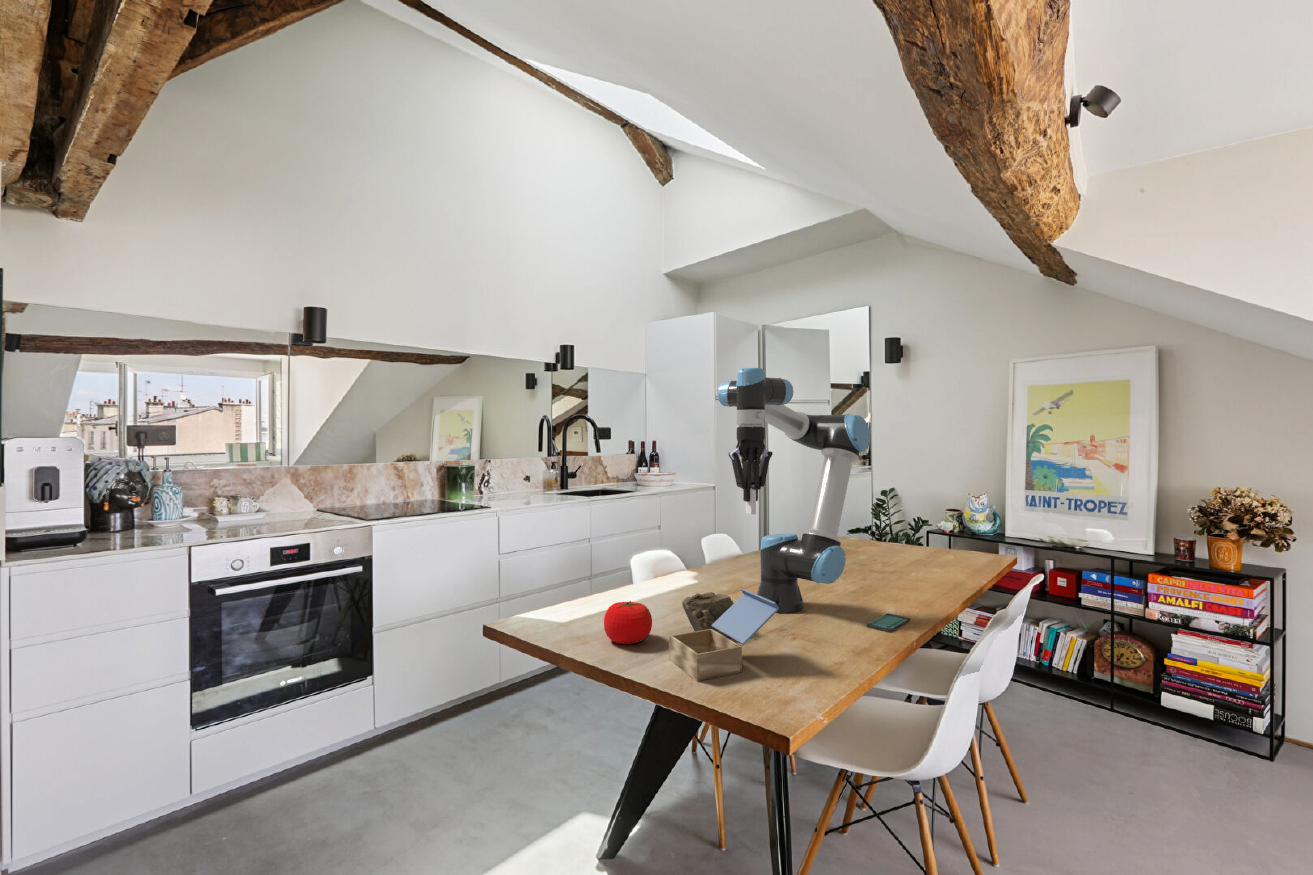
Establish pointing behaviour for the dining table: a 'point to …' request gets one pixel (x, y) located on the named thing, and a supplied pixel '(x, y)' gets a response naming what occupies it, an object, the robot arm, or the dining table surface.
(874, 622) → the smartphone
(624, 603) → the tomato
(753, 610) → the lid
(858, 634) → the dining table surface
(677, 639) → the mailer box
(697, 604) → the stone
